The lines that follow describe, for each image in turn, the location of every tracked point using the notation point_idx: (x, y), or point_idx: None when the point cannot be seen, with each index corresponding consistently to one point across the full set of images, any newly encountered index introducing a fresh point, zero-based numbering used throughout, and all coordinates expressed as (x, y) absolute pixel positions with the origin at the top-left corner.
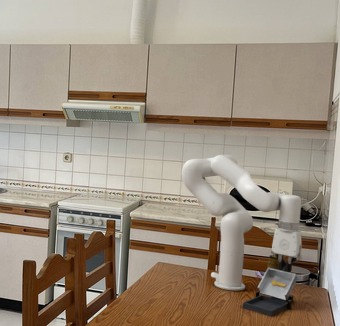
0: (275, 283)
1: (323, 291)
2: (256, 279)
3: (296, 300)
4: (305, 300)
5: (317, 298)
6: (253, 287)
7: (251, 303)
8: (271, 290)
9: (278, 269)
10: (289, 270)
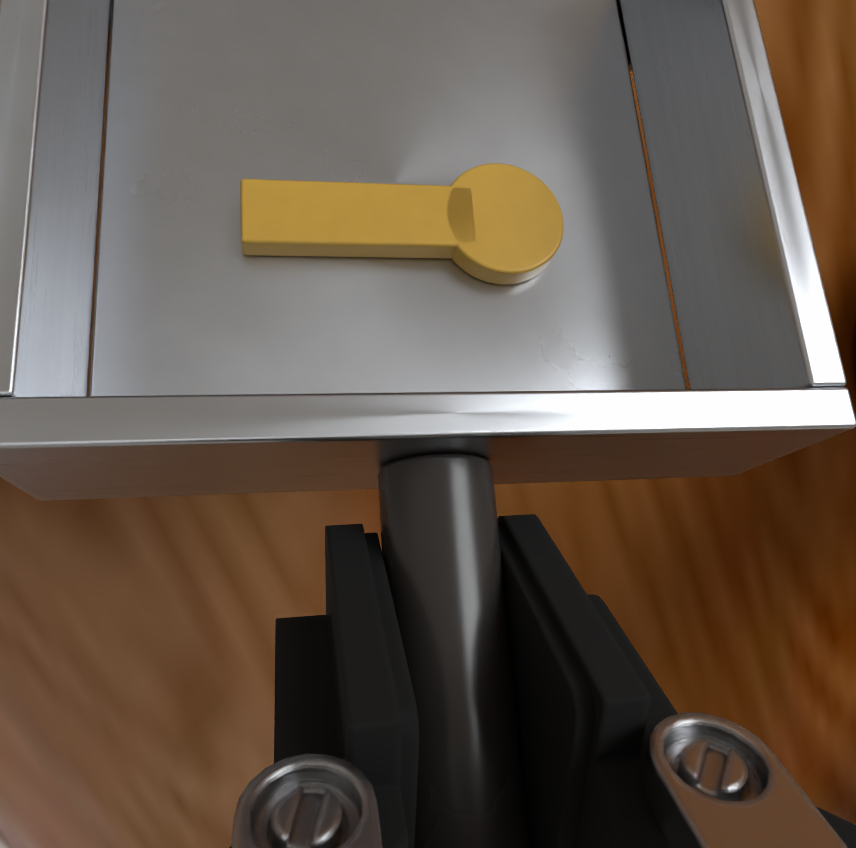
0: (466, 202)
1: None
2: (812, 784)
3: (221, 494)
4: (149, 590)
5: (100, 770)
6: (780, 522)
7: None
8: (466, 68)
9: None
10: (292, 626)
